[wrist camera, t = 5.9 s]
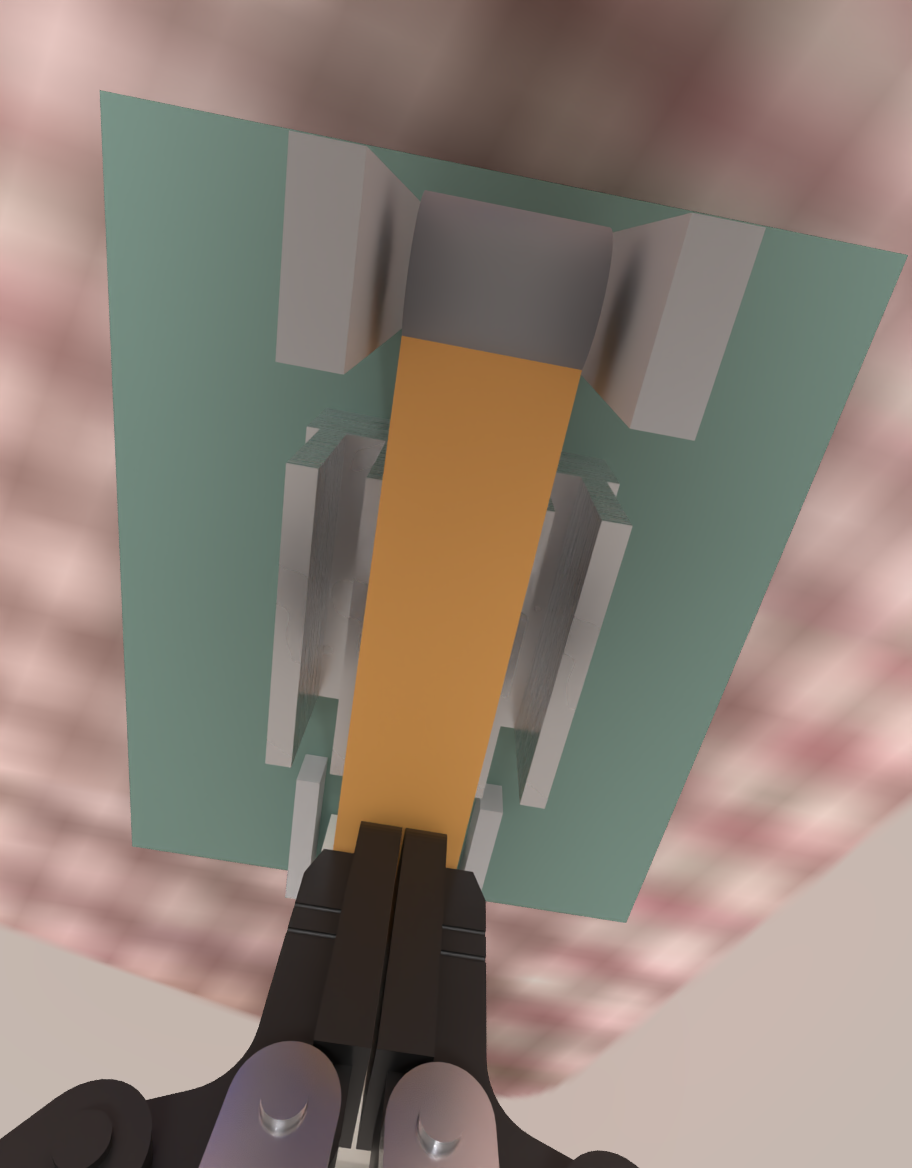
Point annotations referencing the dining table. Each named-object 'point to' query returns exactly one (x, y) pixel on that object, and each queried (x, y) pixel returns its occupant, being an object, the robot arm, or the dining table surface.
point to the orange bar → (463, 499)
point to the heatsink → (340, 584)
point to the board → (366, 386)
